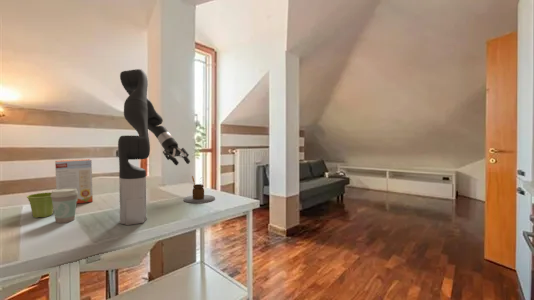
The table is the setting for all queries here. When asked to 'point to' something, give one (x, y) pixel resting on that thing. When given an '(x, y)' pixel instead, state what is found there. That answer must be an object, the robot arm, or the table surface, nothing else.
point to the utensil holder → (198, 190)
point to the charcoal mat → (206, 199)
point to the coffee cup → (64, 204)
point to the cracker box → (75, 177)
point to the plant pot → (41, 204)
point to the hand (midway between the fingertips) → (183, 163)
